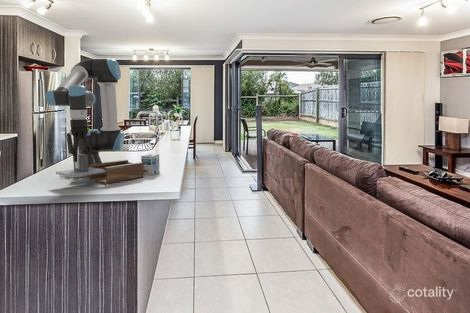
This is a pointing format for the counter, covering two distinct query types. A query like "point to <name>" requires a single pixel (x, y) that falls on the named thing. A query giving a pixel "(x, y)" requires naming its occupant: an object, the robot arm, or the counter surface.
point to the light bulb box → (150, 164)
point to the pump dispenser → (90, 161)
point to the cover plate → (75, 173)
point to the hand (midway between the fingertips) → (81, 167)
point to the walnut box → (117, 172)
